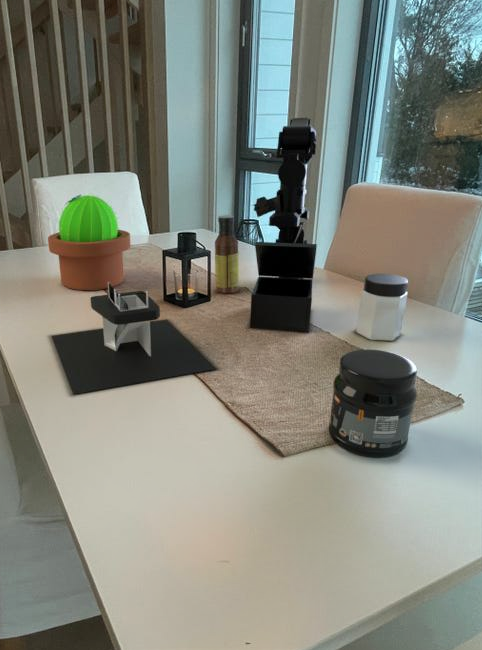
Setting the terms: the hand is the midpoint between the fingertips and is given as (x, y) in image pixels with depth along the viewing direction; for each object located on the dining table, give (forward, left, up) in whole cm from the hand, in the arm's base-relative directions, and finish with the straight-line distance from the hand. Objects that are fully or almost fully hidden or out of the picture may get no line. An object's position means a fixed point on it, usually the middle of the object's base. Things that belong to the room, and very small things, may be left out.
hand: (287, 253), depth 123 cm
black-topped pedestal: (+44, -15, -13) cm, 48 cm away
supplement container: (+51, +33, -13) cm, 62 cm away
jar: (+9, +25, -13) cm, 29 cm away
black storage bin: (+11, +4, -13) cm, 17 cm away
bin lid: (+10, +3, 0) cm, 10 cm away
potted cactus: (+10, -54, -13) cm, 57 cm away
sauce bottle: (-2, -17, -13) cm, 22 cm away
